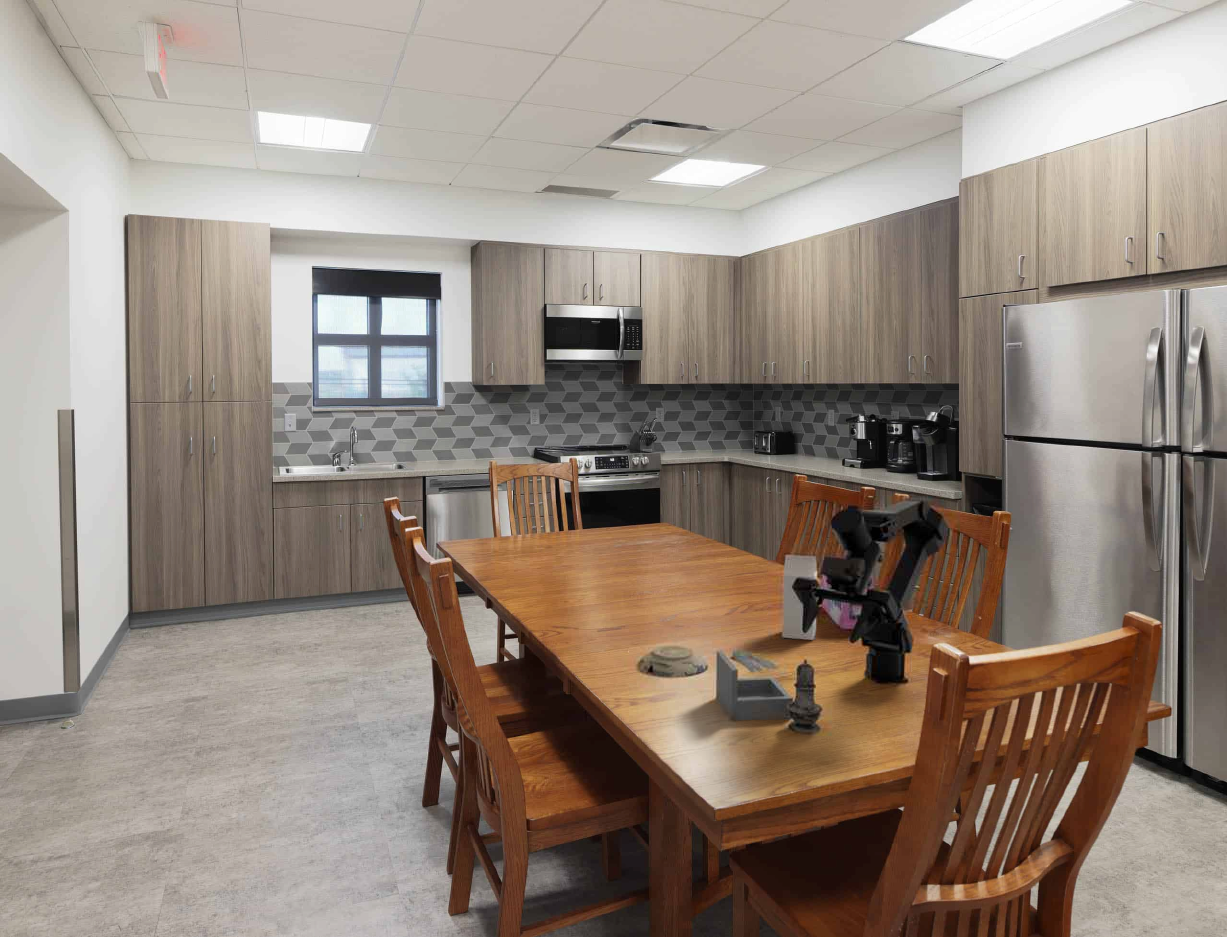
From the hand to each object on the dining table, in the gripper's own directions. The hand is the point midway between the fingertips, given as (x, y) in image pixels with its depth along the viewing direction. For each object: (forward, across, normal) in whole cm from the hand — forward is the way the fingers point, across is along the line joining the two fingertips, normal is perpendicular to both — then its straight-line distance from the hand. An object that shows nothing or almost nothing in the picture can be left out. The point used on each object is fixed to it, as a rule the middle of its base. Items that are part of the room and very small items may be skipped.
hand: (826, 636), depth 146 cm
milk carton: (-19, -28, +38) cm, 51 cm away
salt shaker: (+16, 0, +4) cm, 16 cm away
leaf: (+1, -21, +19) cm, 29 cm away
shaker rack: (+14, -11, +6) cm, 19 cm away
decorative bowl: (+9, -37, +12) cm, 39 cm away
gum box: (-35, -28, +54) cm, 69 cm away
